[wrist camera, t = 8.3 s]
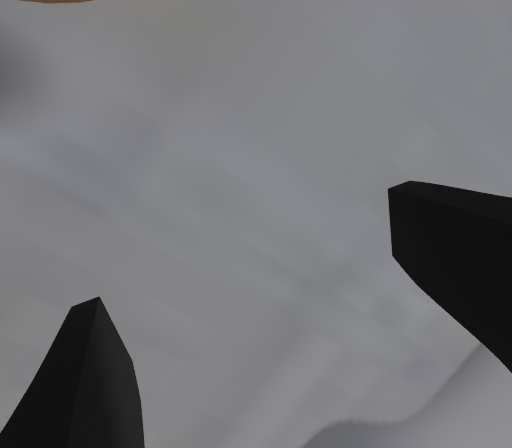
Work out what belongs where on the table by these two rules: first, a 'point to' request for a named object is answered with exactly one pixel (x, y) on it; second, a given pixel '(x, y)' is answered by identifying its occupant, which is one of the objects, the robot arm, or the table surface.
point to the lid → (57, 1)
